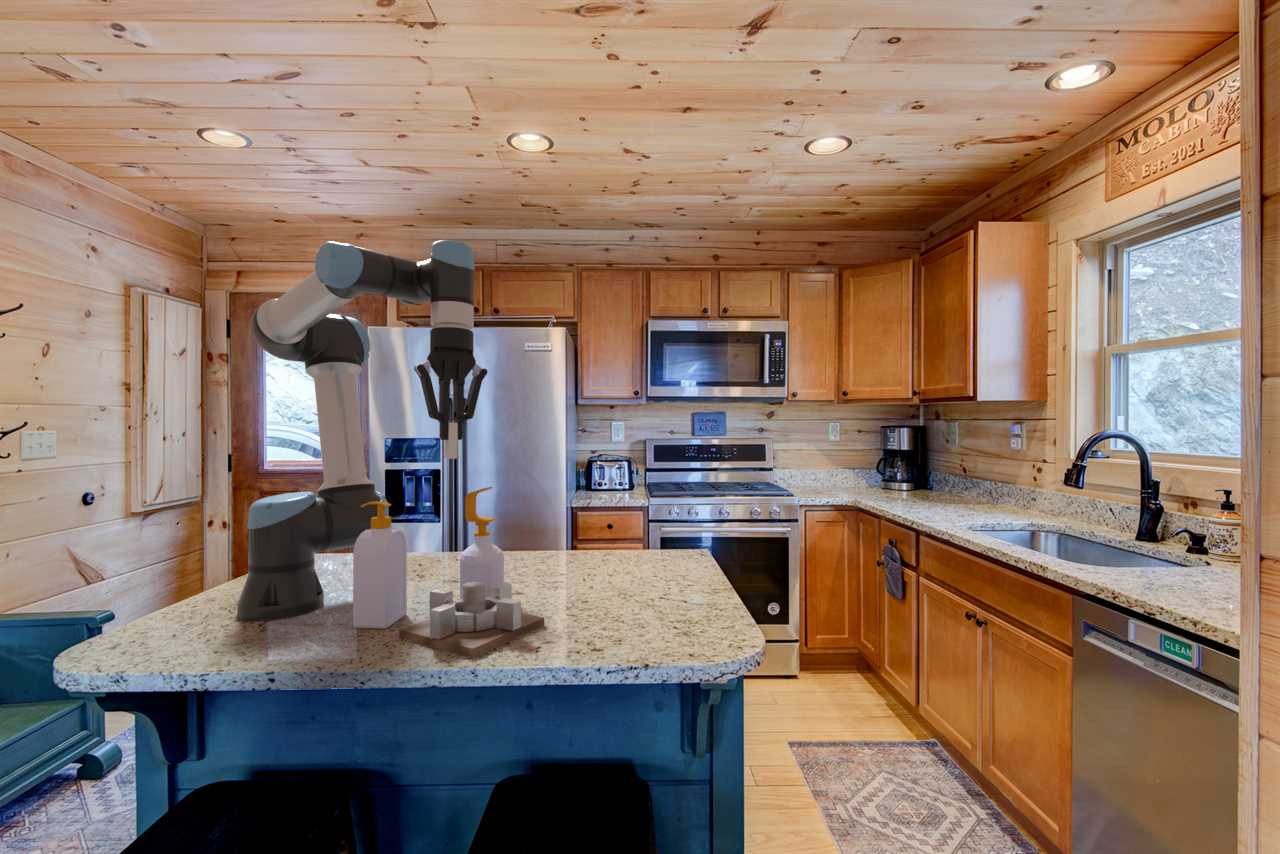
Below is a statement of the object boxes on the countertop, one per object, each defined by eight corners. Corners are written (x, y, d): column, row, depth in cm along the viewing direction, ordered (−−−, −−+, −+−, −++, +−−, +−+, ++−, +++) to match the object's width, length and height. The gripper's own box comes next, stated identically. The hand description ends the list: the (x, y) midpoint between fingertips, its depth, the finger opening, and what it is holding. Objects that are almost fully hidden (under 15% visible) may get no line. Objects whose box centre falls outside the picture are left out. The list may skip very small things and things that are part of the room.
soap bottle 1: (372, 613, 117) (372, 499, 117) (407, 614, 116) (407, 499, 117) (348, 629, 108) (348, 504, 108) (385, 629, 107) (386, 505, 108)
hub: (397, 638, 103) (397, 590, 103) (474, 610, 119) (474, 568, 119) (470, 658, 94) (470, 605, 94) (544, 625, 110) (544, 580, 110)
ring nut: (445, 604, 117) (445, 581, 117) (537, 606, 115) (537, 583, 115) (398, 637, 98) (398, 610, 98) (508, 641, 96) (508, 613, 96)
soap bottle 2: (492, 609, 119) (492, 489, 119) (451, 607, 121) (451, 488, 121) (510, 597, 128) (510, 485, 128) (472, 595, 130) (472, 484, 130)
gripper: (480, 334, 113) (478, 456, 113) (409, 327, 106) (408, 458, 106) (494, 329, 107) (492, 458, 107) (420, 322, 100) (419, 460, 100)
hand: (450, 458), depth 107 cm, fingers closed
